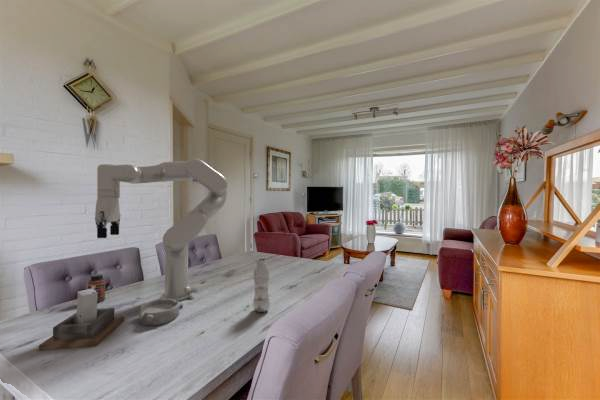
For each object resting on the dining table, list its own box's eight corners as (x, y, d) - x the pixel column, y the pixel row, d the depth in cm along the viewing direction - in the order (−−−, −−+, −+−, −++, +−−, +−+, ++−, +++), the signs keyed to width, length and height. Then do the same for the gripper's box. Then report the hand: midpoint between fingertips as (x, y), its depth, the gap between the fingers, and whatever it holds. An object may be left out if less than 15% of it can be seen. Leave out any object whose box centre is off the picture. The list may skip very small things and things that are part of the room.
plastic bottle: (256, 315, 101) (256, 262, 101) (250, 309, 107) (251, 258, 107) (272, 312, 104) (272, 260, 104) (266, 306, 110) (266, 257, 110)
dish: (151, 331, 89) (151, 316, 89) (129, 321, 97) (129, 307, 97) (189, 315, 102) (189, 302, 102) (167, 307, 109) (167, 295, 109)
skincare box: (75, 328, 87) (75, 291, 87) (92, 323, 91) (92, 287, 91) (80, 334, 83) (80, 295, 83) (97, 329, 87) (97, 292, 87)
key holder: (124, 320, 97) (124, 305, 97) (96, 345, 80) (97, 327, 80) (77, 323, 94) (77, 307, 94) (38, 350, 77) (38, 331, 77)
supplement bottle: (95, 304, 111) (95, 277, 111) (84, 303, 112) (84, 276, 112) (108, 299, 117) (108, 273, 117) (97, 298, 118) (97, 272, 118)
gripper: (109, 195, 118) (109, 233, 118) (85, 194, 101) (85, 239, 101) (128, 195, 120) (128, 233, 120) (107, 194, 103) (107, 239, 103)
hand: (108, 236), depth 110 cm, fingers open, 9 cm apart
